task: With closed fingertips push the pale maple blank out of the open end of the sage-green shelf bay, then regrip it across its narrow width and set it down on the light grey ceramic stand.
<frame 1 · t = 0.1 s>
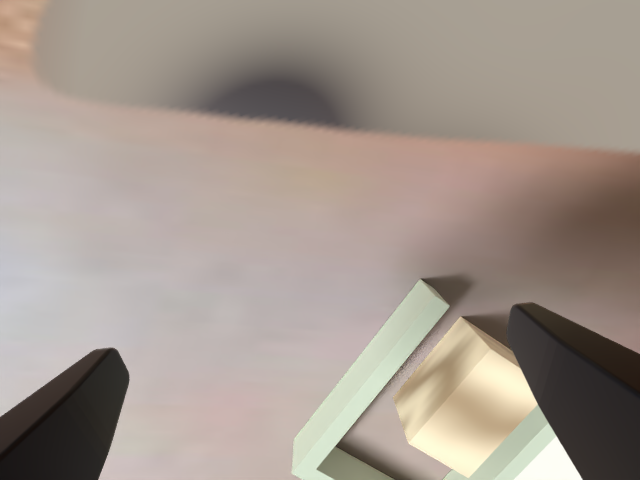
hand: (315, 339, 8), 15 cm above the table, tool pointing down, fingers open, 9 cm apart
shelf bay: (427, 404, 26), on the table
blank: (451, 373, 26), on the table
stand: (537, 464, 28), on the table
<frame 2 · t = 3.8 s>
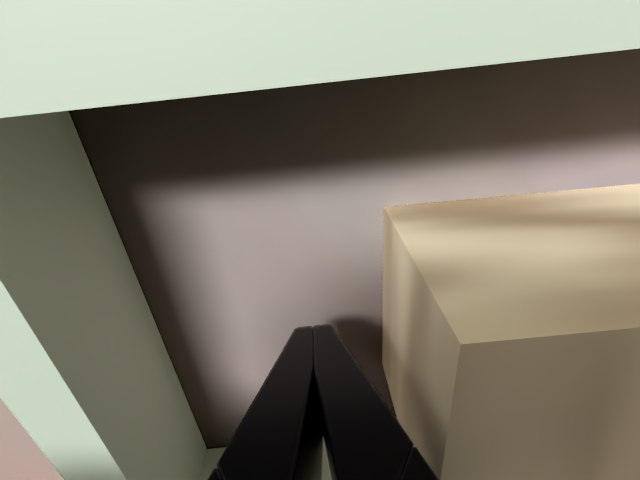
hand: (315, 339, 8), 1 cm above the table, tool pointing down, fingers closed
shelf bay: (420, 294, 9), on the table
blank: (530, 277, 9), on the table, touching gripper
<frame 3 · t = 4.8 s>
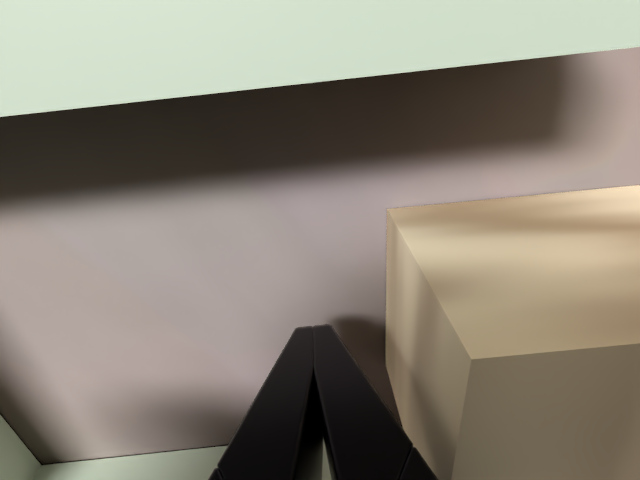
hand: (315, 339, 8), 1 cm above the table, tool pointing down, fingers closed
shelf bay: (207, 316, 9), on the table
blank: (537, 282, 9), on the table, touching gripper
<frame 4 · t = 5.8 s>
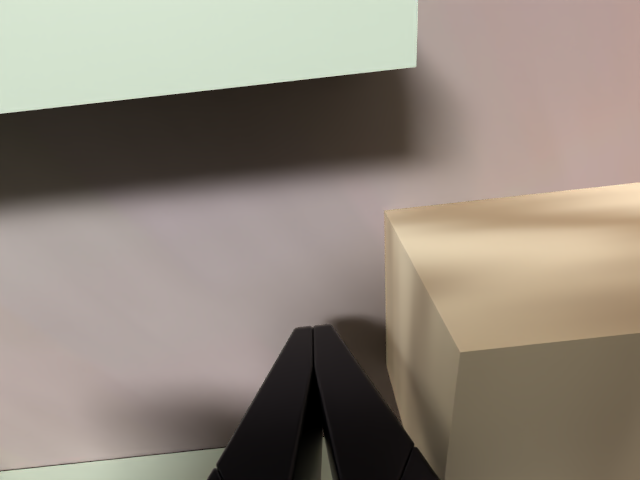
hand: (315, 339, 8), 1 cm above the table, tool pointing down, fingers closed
shelf bay: (86, 330, 9), on the table
blank: (533, 277, 9), on the table
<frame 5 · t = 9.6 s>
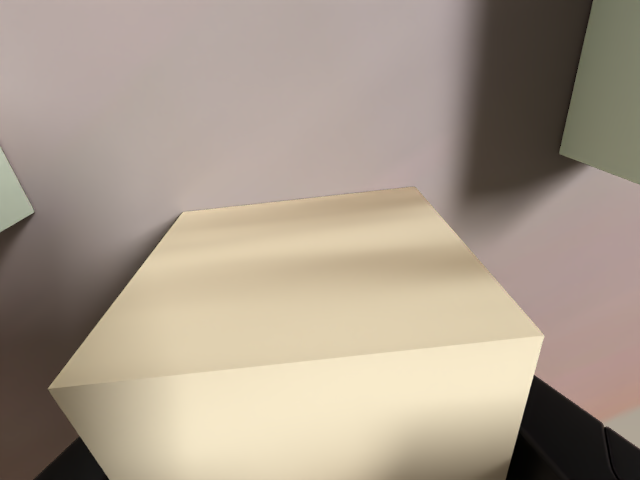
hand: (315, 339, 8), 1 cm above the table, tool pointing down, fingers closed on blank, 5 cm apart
blank: (317, 338, 9), on the table, touching gripper
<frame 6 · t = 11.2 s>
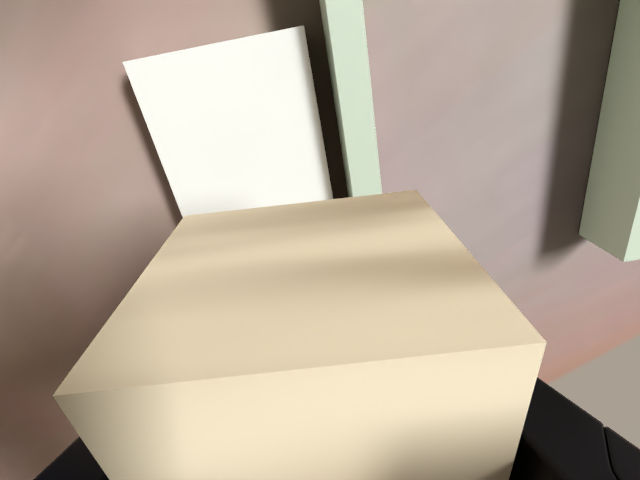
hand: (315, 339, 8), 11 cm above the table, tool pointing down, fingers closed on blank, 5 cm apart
shelf bay: (483, 109, 16), on the table
blank: (319, 341, 9), point 10 cm above the table, touching gripper
stand: (252, 163, 17), on the table
when the fingers open (3 cm above the table, at t = 13.2 s): blank stays where it is, resting on stand.
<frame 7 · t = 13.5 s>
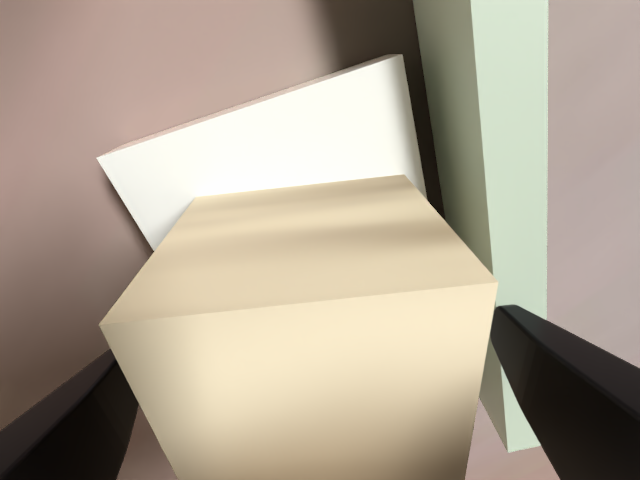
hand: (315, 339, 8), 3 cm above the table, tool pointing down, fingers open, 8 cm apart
blank: (316, 316, 10), point 1 cm above the table, touching stand
stand: (311, 261, 11), on the table
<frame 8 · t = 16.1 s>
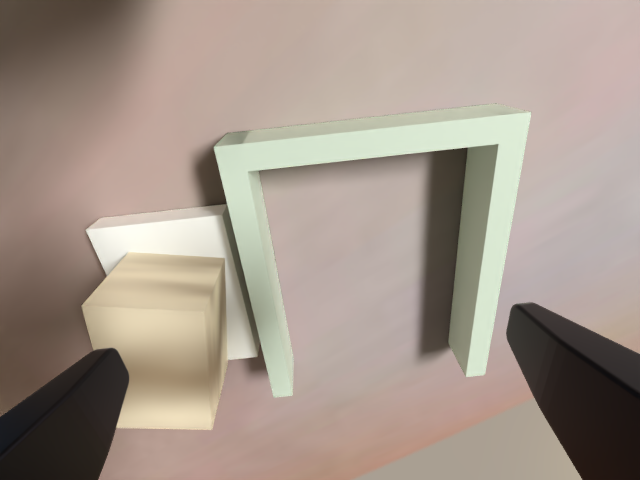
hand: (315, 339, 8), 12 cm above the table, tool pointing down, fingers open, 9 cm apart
shelf bay: (367, 259, 21), on the table
blank: (183, 313, 21), point 1 cm above the table, touching stand
stand: (189, 285, 21), on the table
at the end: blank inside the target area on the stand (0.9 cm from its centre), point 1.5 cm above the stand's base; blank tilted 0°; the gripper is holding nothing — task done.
